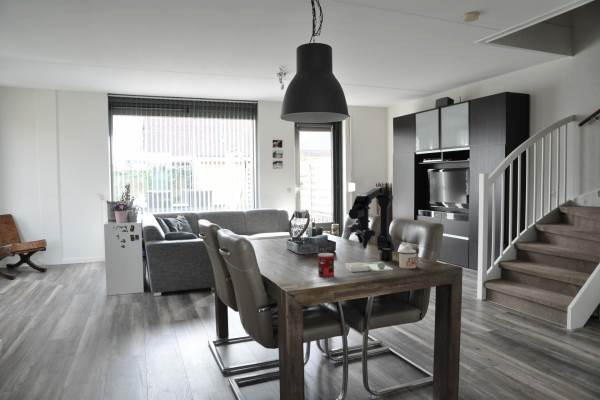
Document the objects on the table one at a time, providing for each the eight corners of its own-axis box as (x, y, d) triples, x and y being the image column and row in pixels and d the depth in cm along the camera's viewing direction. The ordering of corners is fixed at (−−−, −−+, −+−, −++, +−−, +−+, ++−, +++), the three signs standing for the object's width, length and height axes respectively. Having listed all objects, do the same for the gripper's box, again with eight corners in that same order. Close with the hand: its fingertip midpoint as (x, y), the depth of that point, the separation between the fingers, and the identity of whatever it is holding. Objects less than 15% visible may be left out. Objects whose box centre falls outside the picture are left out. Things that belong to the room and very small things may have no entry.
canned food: (317, 274, 221) (317, 253, 220) (332, 273, 221) (332, 252, 221) (319, 277, 213) (318, 255, 212) (335, 277, 214) (334, 255, 213)
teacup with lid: (407, 270, 225) (407, 248, 224) (395, 267, 233) (395, 246, 232) (424, 267, 231) (423, 246, 230) (411, 264, 239) (411, 243, 238)
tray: (378, 264, 241) (378, 262, 241) (393, 271, 224) (393, 268, 224) (362, 265, 239) (362, 263, 239) (375, 272, 222) (375, 270, 222)
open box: (362, 267, 234) (362, 262, 234) (369, 271, 224) (369, 265, 224) (344, 269, 231) (344, 263, 231) (351, 273, 222) (351, 267, 221)
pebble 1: (365, 249, 230) (365, 241, 230) (368, 250, 227) (368, 242, 226) (358, 249, 229) (358, 241, 229) (361, 250, 226) (361, 242, 225)
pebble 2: (383, 268, 229) (383, 260, 229) (386, 269, 225) (386, 262, 225) (376, 268, 228) (376, 261, 228) (379, 270, 224) (379, 262, 224)
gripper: (342, 217, 234) (342, 245, 235) (355, 219, 216) (355, 250, 217) (361, 216, 237) (361, 245, 238) (375, 219, 219) (375, 249, 220)
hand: (363, 247), depth 228 cm, fingers closed on pebble 1, 4 cm apart
